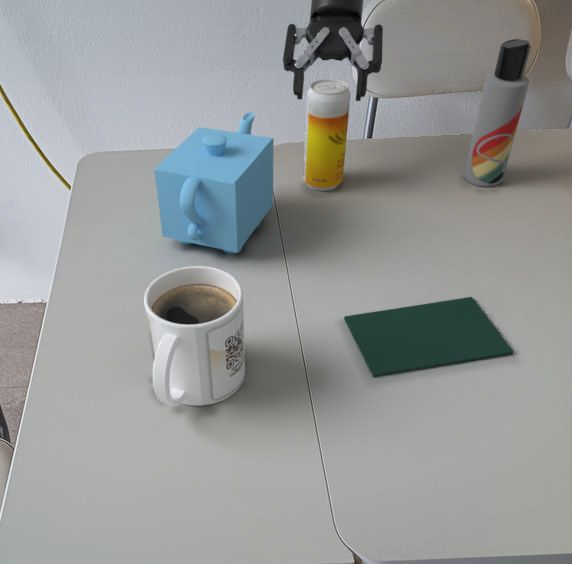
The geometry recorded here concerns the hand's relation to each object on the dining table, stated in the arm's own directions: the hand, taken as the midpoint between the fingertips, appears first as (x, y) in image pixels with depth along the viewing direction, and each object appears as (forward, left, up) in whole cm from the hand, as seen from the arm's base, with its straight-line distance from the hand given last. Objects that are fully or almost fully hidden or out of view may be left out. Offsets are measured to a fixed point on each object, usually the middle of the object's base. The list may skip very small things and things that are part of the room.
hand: (328, 98), depth 95 cm
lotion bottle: (-23, +8, -12) cm, 27 cm away
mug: (+27, +41, -12) cm, 51 cm away
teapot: (+18, +11, -12) cm, 24 cm away
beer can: (+1, +3, -12) cm, 13 cm away
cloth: (0, +40, -12) cm, 42 cm away
